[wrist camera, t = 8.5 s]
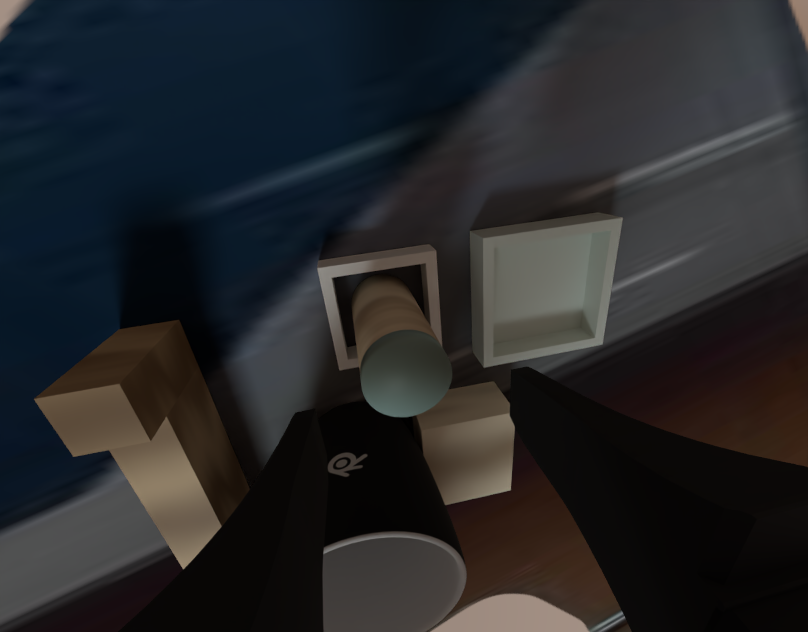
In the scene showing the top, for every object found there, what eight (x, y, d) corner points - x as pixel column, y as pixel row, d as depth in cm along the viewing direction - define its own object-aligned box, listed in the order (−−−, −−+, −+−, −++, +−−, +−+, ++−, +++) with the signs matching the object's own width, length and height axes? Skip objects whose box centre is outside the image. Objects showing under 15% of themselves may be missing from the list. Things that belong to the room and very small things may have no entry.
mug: (365, 359, 22) (389, 499, 13) (443, 435, 26) (502, 584, 17) (227, 465, 24) (161, 658, 15) (320, 523, 28) (314, 704, 18)
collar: (435, 339, 23) (442, 351, 21) (338, 357, 22) (339, 370, 20) (428, 244, 20) (436, 250, 19) (318, 260, 19) (317, 268, 18)
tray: (582, 330, 24) (602, 344, 23) (472, 351, 23) (483, 367, 22) (598, 212, 21) (622, 217, 19) (469, 231, 20) (483, 238, 18)
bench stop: (264, 523, 26) (246, 617, 21) (222, 533, 26) (193, 631, 21) (179, 319, 19) (119, 383, 14) (119, 329, 19) (33, 399, 13)
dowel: (414, 324, 22) (454, 407, 15) (356, 335, 21) (368, 425, 14) (408, 269, 20) (450, 331, 13) (346, 279, 20) (354, 348, 13)
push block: (490, 451, 28) (510, 490, 25) (416, 467, 27) (427, 509, 24) (492, 379, 25) (515, 411, 22) (409, 394, 24) (421, 430, 21)
